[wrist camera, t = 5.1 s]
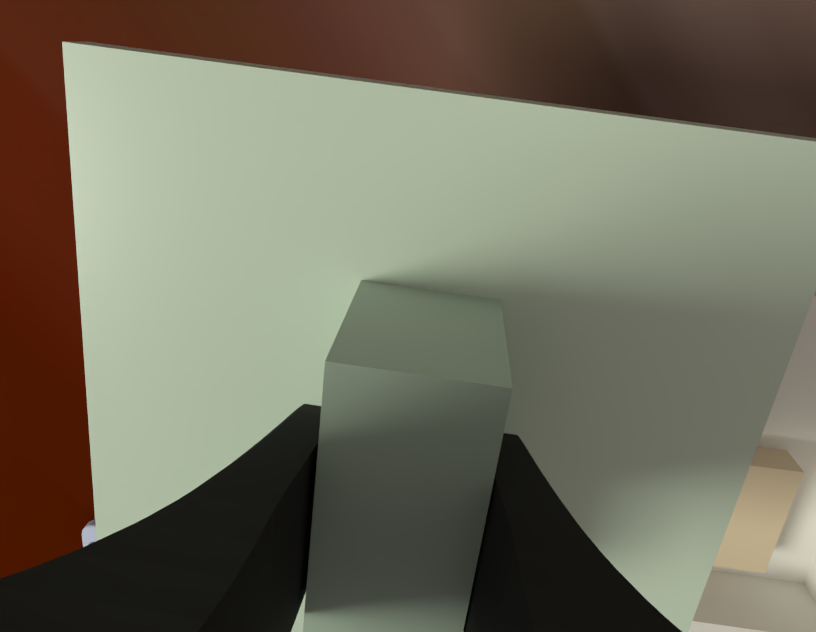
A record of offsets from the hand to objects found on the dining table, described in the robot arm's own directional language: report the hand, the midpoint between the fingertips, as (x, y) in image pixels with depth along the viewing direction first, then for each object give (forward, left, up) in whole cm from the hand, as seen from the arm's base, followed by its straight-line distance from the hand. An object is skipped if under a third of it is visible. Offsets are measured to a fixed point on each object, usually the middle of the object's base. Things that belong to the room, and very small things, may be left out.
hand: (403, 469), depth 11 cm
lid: (0, 0, -2) cm, 2 cm away
